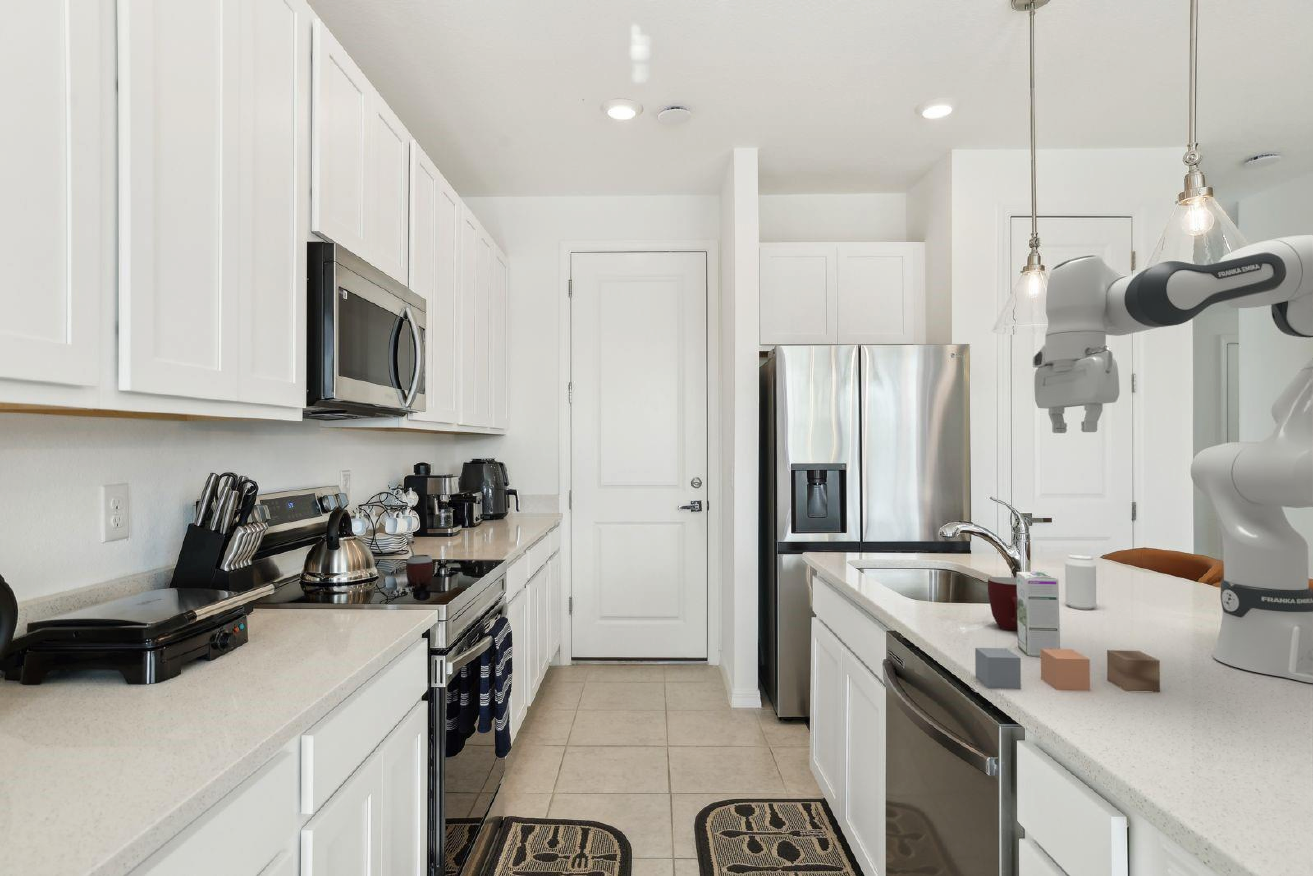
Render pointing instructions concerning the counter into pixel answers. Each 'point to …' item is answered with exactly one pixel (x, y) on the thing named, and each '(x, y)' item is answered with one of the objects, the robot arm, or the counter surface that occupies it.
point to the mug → (1004, 601)
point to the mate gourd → (418, 568)
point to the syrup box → (1037, 612)
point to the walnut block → (1133, 670)
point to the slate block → (998, 668)
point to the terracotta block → (1065, 669)
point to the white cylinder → (1080, 582)
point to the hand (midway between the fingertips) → (1073, 432)
